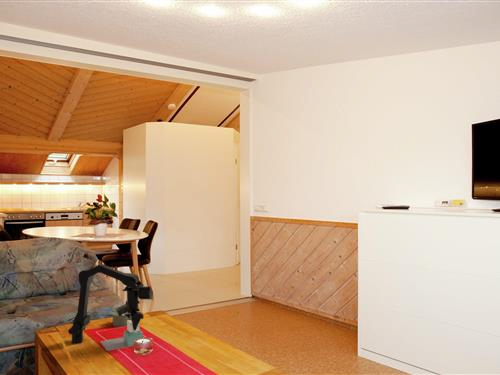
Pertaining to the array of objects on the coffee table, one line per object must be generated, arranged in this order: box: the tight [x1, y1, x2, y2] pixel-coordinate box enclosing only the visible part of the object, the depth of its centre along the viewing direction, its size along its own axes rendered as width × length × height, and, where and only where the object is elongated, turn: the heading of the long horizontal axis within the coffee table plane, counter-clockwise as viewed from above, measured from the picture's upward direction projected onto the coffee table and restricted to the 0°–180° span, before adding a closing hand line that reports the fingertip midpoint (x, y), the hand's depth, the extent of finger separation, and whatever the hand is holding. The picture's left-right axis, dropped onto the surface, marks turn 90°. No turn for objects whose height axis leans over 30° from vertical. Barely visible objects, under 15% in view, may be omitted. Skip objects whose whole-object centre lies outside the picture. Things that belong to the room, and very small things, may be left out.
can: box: [111, 311, 129, 328], centre depth 269 cm, size 12×12×7 cm
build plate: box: [100, 328, 144, 352], centre depth 233 cm, size 16×19×7 cm
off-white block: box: [126, 320, 140, 332], centre depth 233 cm, size 5×5×5 cm
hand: (133, 328), depth 233 cm, fingers closed on off-white block, 5 cm apart
